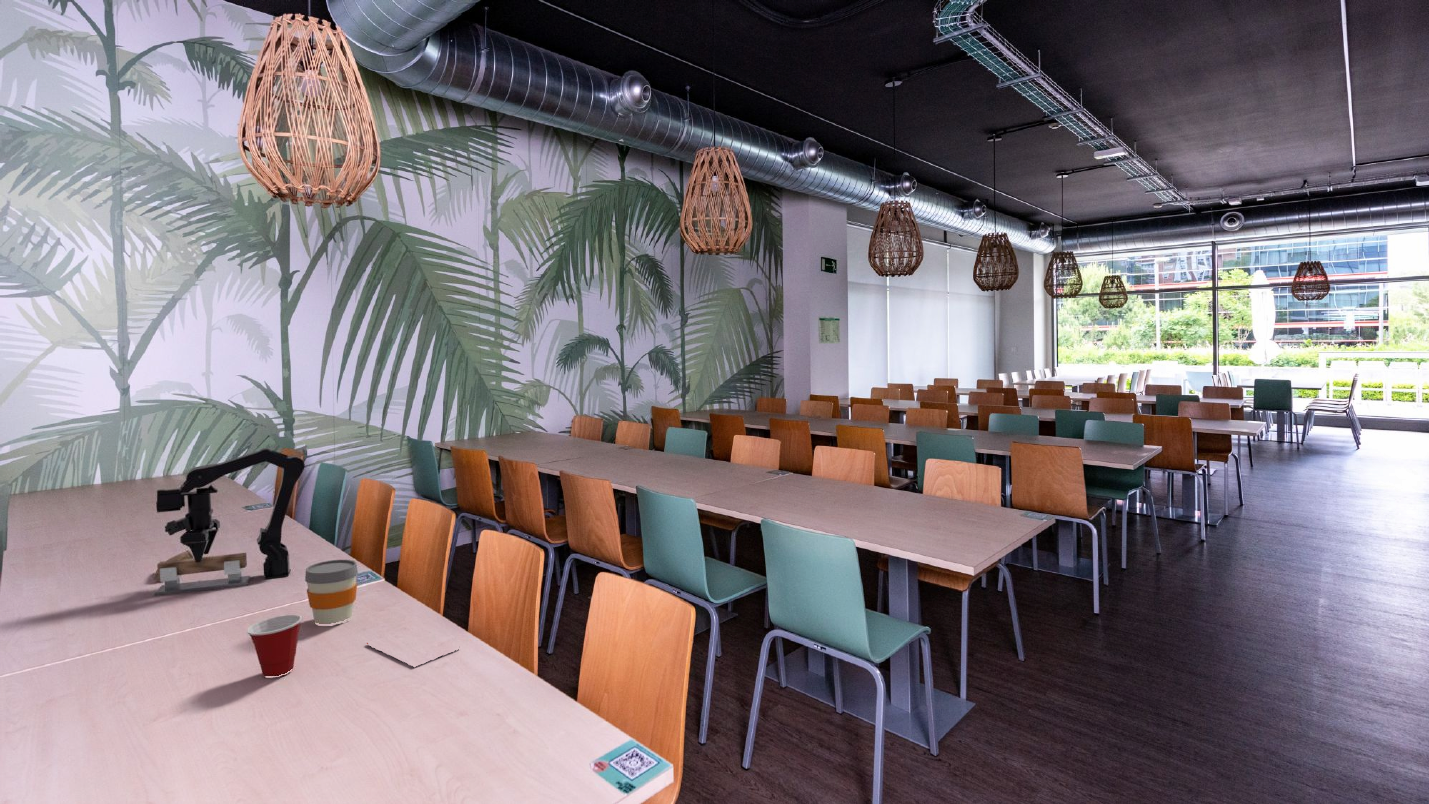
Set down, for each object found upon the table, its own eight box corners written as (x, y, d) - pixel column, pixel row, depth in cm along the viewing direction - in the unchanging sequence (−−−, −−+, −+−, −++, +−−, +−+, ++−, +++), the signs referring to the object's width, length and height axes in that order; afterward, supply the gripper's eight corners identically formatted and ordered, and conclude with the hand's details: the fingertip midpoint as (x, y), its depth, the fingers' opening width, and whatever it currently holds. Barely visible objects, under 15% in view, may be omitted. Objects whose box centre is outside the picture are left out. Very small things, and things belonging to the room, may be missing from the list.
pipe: (148, 570, 218) (187, 560, 223) (157, 556, 233) (194, 547, 237) (153, 589, 219) (192, 578, 224) (162, 574, 234) (199, 564, 238)
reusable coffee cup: (370, 614, 194) (368, 561, 193) (332, 632, 182) (329, 575, 181) (335, 609, 198) (333, 557, 197) (295, 625, 186) (293, 570, 185)
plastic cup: (265, 663, 164) (262, 613, 163) (313, 661, 165) (311, 612, 164) (237, 685, 153) (235, 632, 152) (289, 683, 154) (287, 630, 153)
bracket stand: (250, 578, 224) (249, 554, 223) (246, 585, 218) (244, 560, 217) (162, 588, 215) (160, 563, 214) (154, 595, 208) (153, 569, 208)
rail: (246, 564, 222) (246, 552, 222) (245, 567, 219) (244, 555, 219) (160, 574, 212) (159, 561, 212) (158, 577, 210) (157, 564, 209)
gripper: (176, 504, 220) (179, 553, 221) (157, 517, 202) (160, 570, 204) (219, 501, 224) (221, 549, 225) (203, 514, 207) (206, 565, 208)
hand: (202, 558), depth 215 cm, fingers open, 9 cm apart
